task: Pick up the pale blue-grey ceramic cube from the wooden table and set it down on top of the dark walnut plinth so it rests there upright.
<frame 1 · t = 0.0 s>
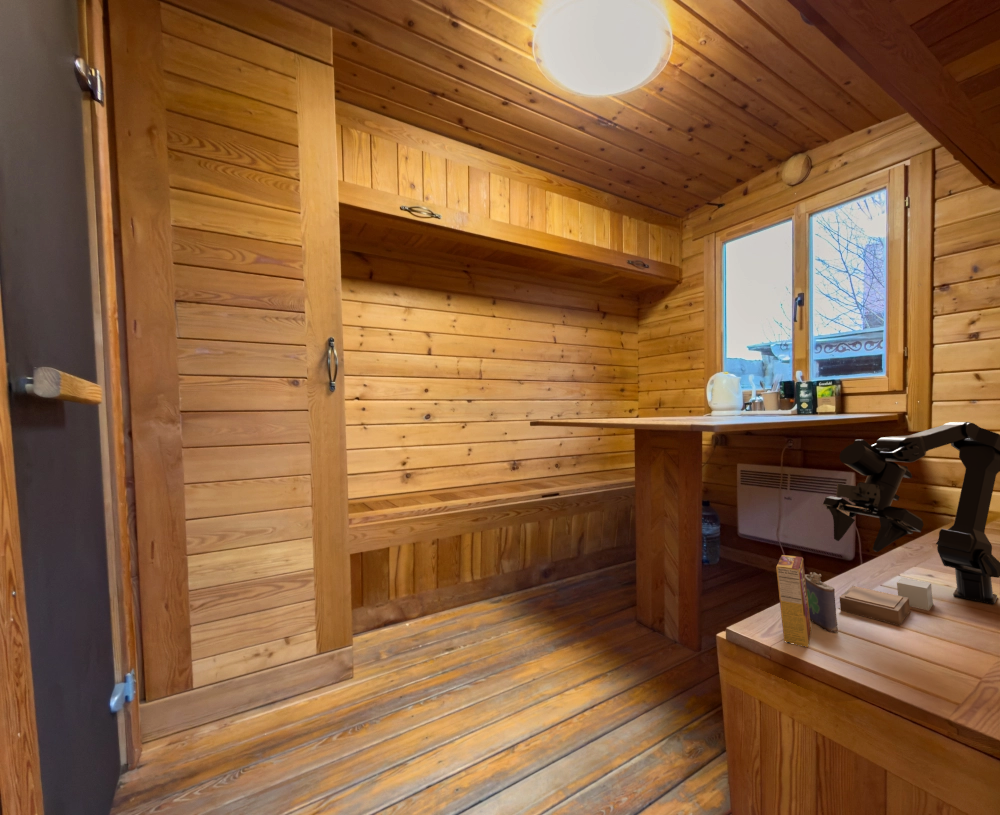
hand: (854, 545, 97), 15 cm above the table, tool tilted 35°, fingers open, 9 cm apart
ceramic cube: (915, 604, 98), on the table
flask: (820, 623, 92), on the table
candy box: (797, 637, 86), on the table
walnut plinth: (874, 610, 96), on the table
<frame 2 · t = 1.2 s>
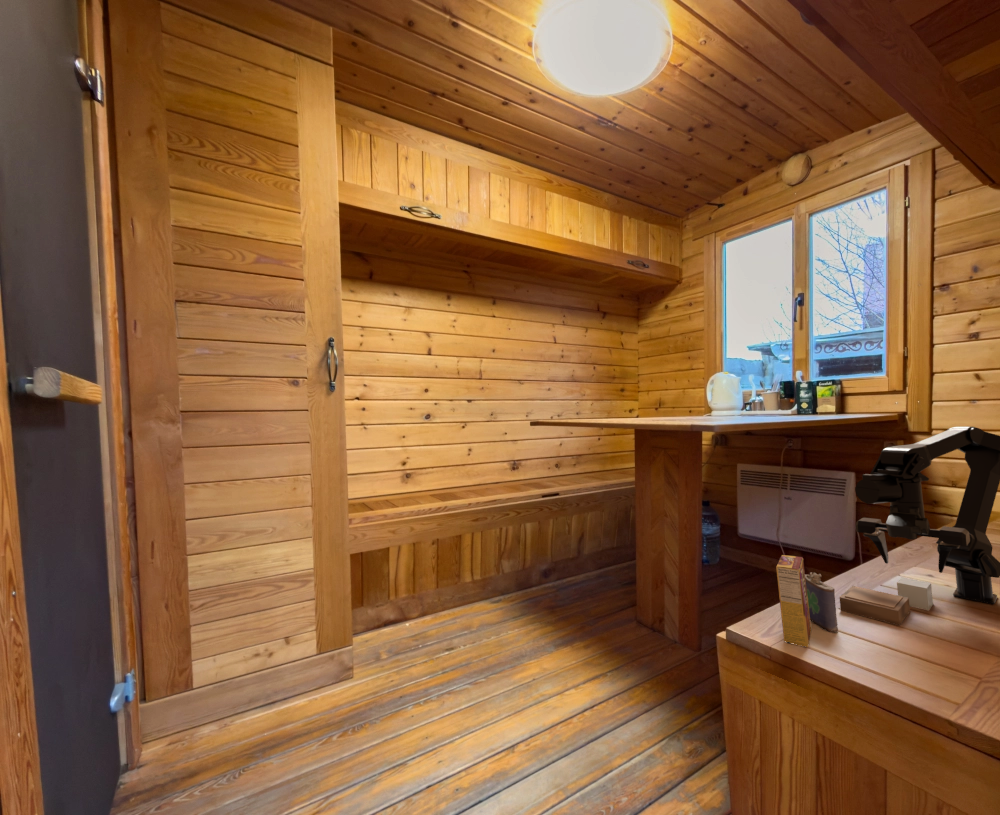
hand: (912, 567, 99), 8 cm above the table, tool pointing down, fingers open, 9 cm apart
nothing on the table moved.
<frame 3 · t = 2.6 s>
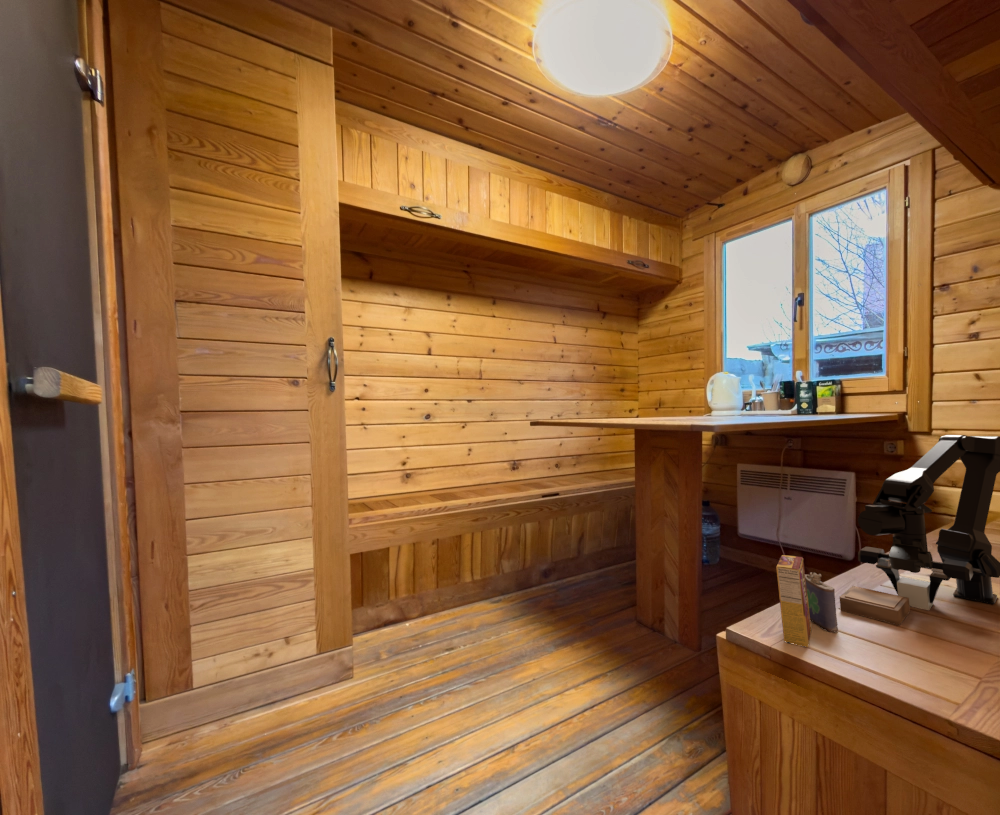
hand: (915, 599, 98), 1 cm above the table, tool pointing down, fingers closed on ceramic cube, 5 cm apart
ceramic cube: (915, 603, 98), on the table, touching gripper
everything else where it was.
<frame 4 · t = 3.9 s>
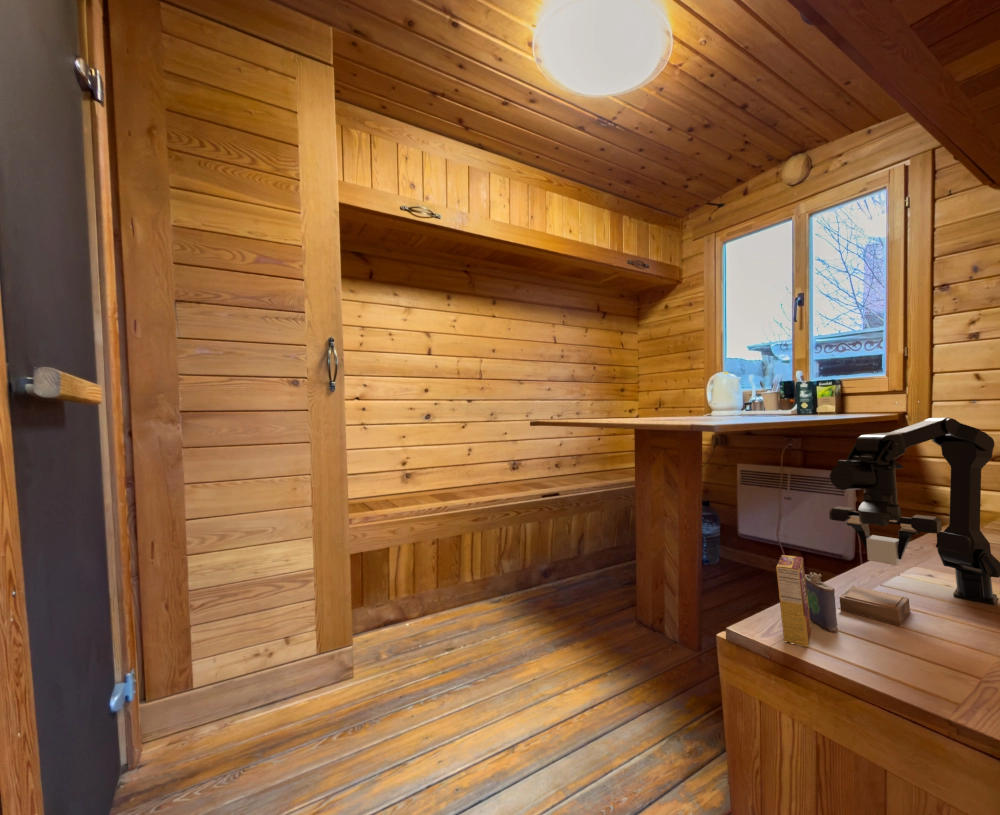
hand: (884, 556, 97), 12 cm above the table, tool pointing down, fingers closed on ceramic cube, 5 cm apart
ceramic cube: (884, 560, 97), point 11 cm above the table, touching gripper
everything else where it was.
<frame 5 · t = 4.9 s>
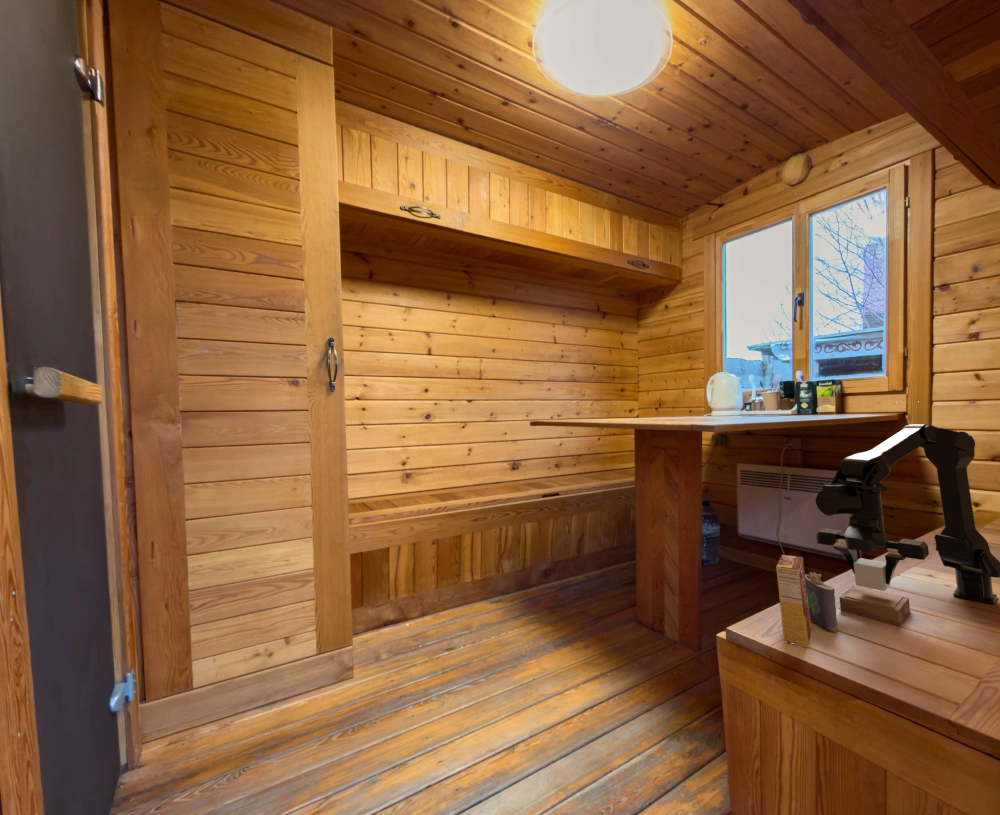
hand: (872, 580, 96), 7 cm above the table, tool pointing down, fingers closed on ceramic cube, 5 cm apart
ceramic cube: (872, 585, 96), point 6 cm above the table, touching gripper
everything else where it was.
when the fingers open (5 cm above the table, at t = 5.6 s): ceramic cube stays where it is, resting on walnut plinth.
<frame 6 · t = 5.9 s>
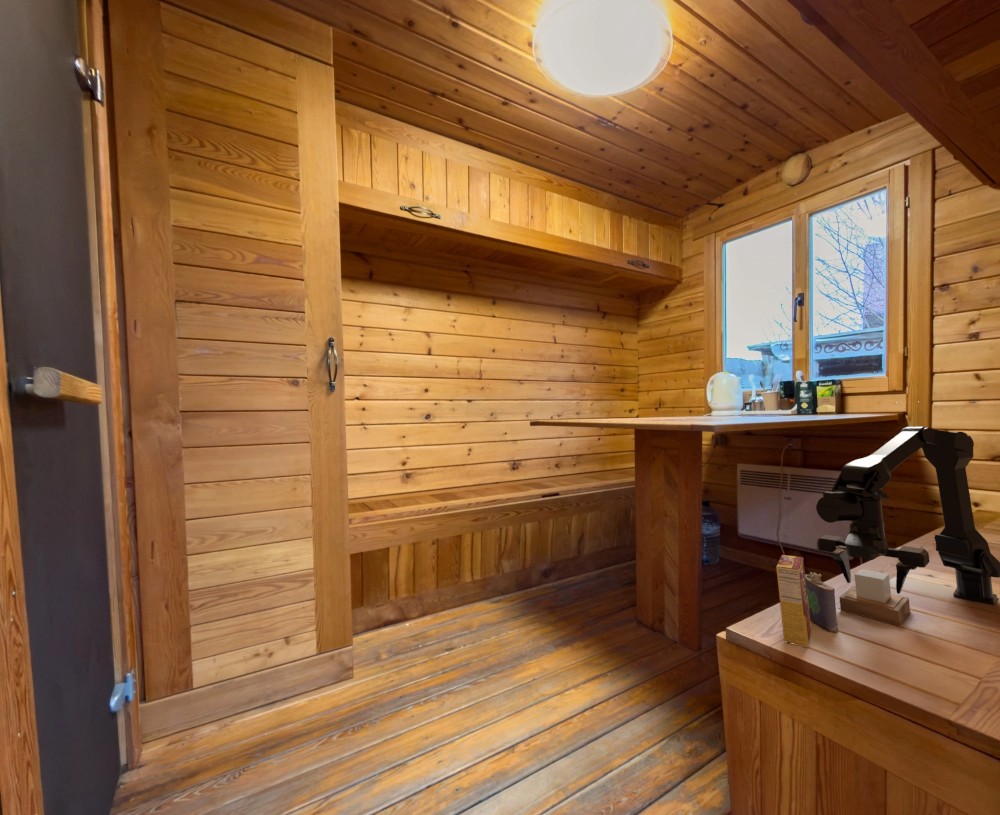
hand: (872, 587, 96), 5 cm above the table, tool pointing down, fingers open, 8 cm apart
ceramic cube: (873, 596, 96), point 3 cm above the table, touching walnut plinth
everything else where it was.
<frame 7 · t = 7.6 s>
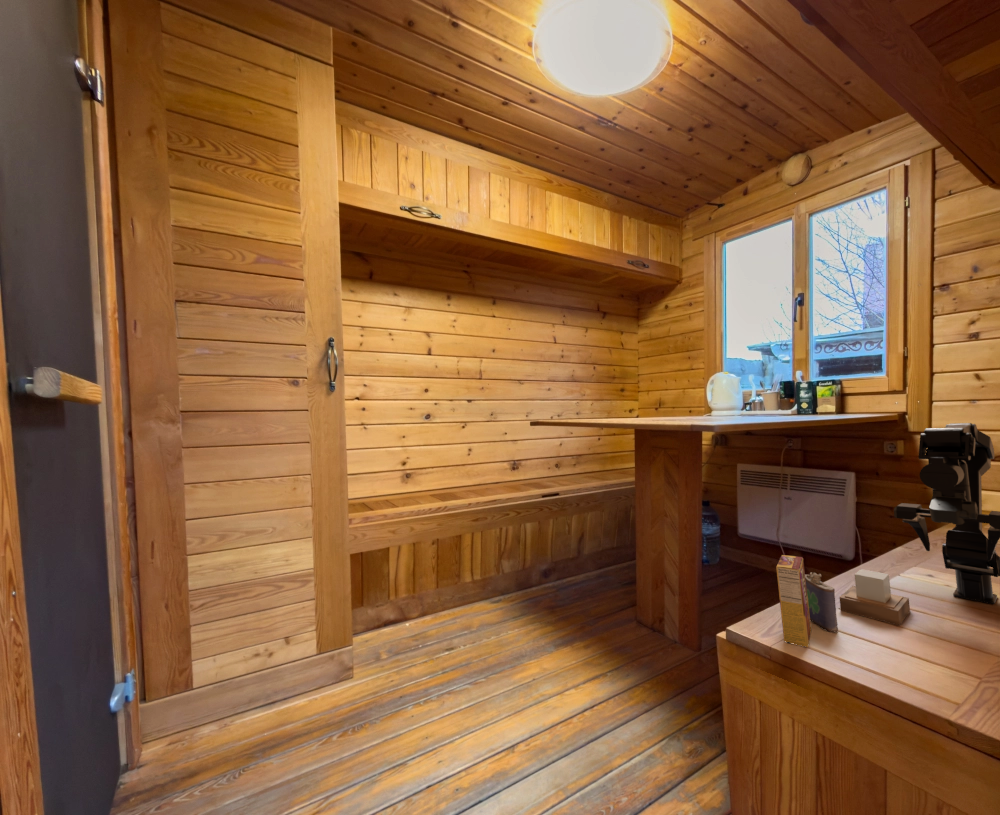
hand: (957, 555, 93), 13 cm above the table, tool pointing down, fingers open, 9 cm apart
nothing on the table moved.
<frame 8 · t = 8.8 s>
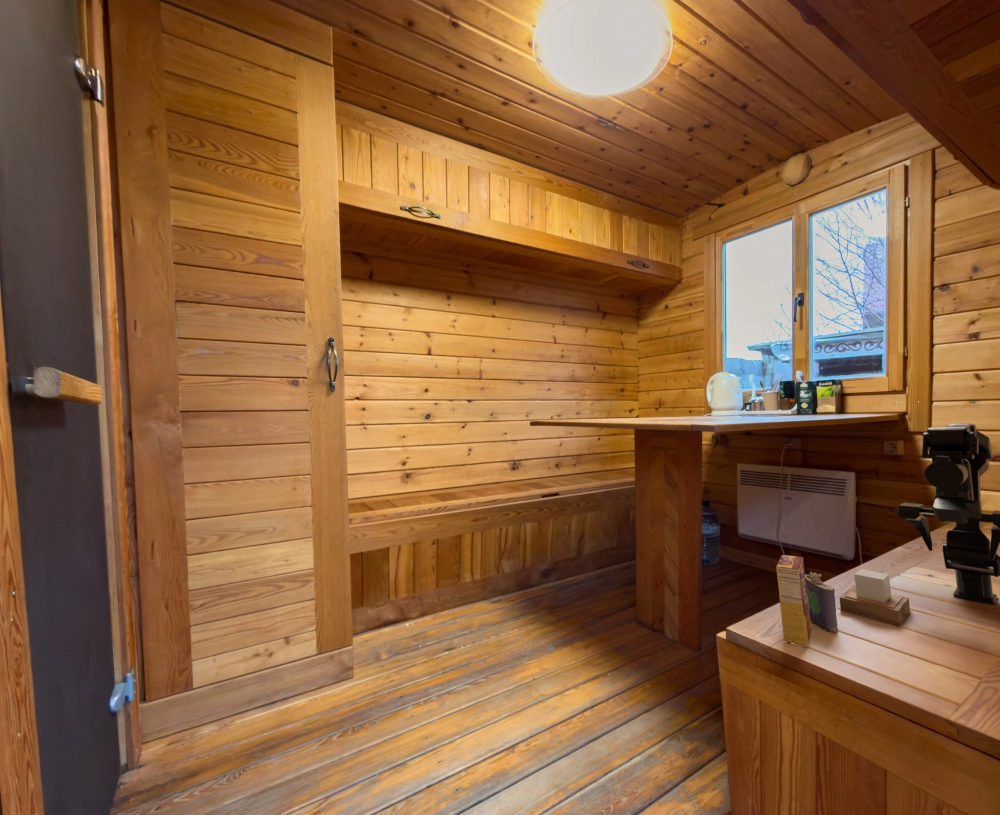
hand: (960, 554, 92), 13 cm above the table, tool pointing down, fingers open, 9 cm apart
nothing on the table moved.
at the end: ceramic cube inside the target area on the walnut plinth (0.0 cm from its centre), point 3.2 cm above the walnut plinth's base; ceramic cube tilted 0°; the gripper is holding nothing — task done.
